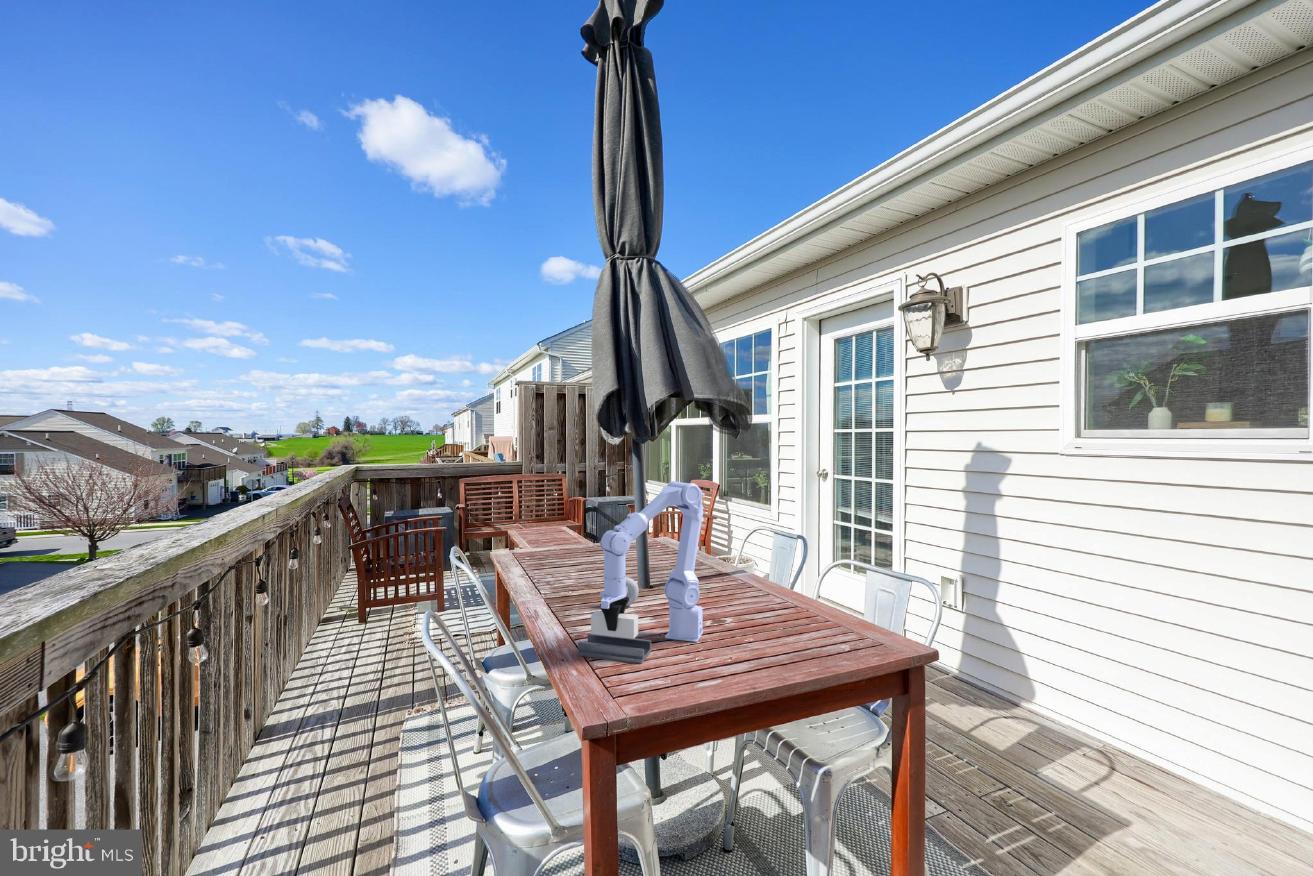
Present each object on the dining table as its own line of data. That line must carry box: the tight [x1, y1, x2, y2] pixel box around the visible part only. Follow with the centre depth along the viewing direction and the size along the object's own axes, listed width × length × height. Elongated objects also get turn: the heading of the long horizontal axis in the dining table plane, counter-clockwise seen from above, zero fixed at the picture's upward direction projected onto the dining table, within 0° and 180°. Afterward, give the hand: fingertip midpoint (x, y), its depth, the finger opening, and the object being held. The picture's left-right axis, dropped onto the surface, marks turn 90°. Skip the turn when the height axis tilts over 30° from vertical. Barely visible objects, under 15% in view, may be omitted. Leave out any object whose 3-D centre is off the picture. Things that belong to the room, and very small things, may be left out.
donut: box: [626, 576, 640, 607], centre depth 182 cm, size 10×4×10 cm, turn 98°
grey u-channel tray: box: [576, 632, 653, 665], centre depth 143 cm, size 18×9×3 cm, turn 73°
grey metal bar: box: [590, 610, 639, 639], centre depth 143 cm, size 12×4×5 cm, turn 73°
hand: (614, 627), depth 143 cm, fingers closed on grey metal bar, 3 cm apart
